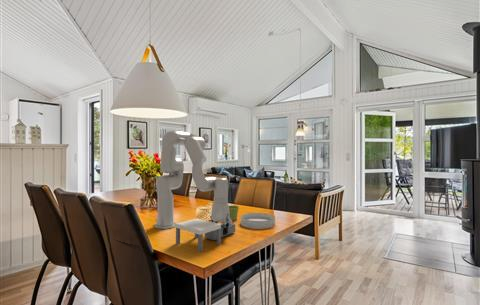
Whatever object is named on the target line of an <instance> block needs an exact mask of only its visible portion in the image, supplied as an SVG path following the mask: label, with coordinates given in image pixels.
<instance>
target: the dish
mask: <svg viewBox="0 0 480 305" xmlns="http://www.w3.org/2000/svg"><path fill="white" fill-rule="evenodd" d="M275 219H276V218H275V216H274V215H273V214H270V213H264V212H248V213H244V214H242V215H241V216H240V226H242V227H245V228H248V229H255V230H261V229H270V228H273V227H275V226H276V222H275V221H276V220H275Z"/></svg>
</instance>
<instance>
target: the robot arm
mask: <svg viewBox="0 0 480 305" xmlns="http://www.w3.org/2000/svg"><path fill="white" fill-rule="evenodd" d="M175 146H184V147H185V150H186V153H187V154H188V156H189V159H190V161H191V163H192V167H191V176H192V179H193V183H194V184H195V186H196V189H197V190H199V191H200V192H204V193H205V192H209V191H213V193H214V194H213V202H212V207H211V214H210V216H209V218H210V220H211V221H210V222H214V223H218V224H219V223H220V224H223V225H224V227H223V235H226V234H228V227H229V225H230V224H231V223H232V224H233V220H231V218H230V213H229V206H230V205H229V203H228V202H229V200H228V199H229V180H228V178H225V177H217V176H208V177H207V176H205V174H204V171H203V165H204V163H205V162H206V161H207V156H206V154H205V152H204V150H206V146H207V143H206V140H205V139H204V138H203V137H201V136H198V135H195V134H194V133H191V132H187V131H180V130H170V131H167V132H165V133H164V135H163V136H162V138H161V156H160V166H159V167H160V171H161V172H162V173H163V174H164V175H161V176H158V177H157V179H156V181H155V187H156V188H155V189H156V192H157V218H155V222H156V223H155V224H154V228H155V229H157V230H159V229H160V230H167V229H173V228H176V224H177V222H176V223H175V222H174V211H175V210H174V203H175V202H174V194H173V192H172V190H176V189H180V187H182V183H183V179H184V169H185V165H184V162H183V159H181V158H180V157H176V155H177V150H176V147H175ZM225 223H226V224H225ZM226 236H227V235H226Z"/></svg>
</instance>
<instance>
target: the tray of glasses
mask: <svg viewBox="0 0 480 305" xmlns="http://www.w3.org/2000/svg"><path fill="white" fill-rule="evenodd" d="M220 224H221V238H223V237H226V236H228V235H231V234H234V233H236V224H235V223H233V222H232V223H231V224H230V225H229V227H228V234H226V235H223V227H224V225H223V223H220ZM225 224H226V223H225ZM204 239H208V240H211V241H217V230H214V231H211V232H207V233H204Z"/></svg>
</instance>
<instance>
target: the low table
mask: <svg viewBox="0 0 480 305" xmlns="http://www.w3.org/2000/svg"><path fill="white" fill-rule="evenodd" d="M221 224H222V223H219V222H218V223H214V222H212V221H209V220H207V219H206V220H205V219H201V218H193V219H188V220H185V221H181V222H178V223H177V222H176V226H175V244H176V245H179V244H181V230H183V231H187V232H189V233H193V234H194V238H195V239H197V252H199V253H201V252H203V249H204V248H203V240H204V239H203V235H205V233H207V232H211V231H214V230H217V239H216V245H218V246H220V245H222V237H221Z"/></svg>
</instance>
